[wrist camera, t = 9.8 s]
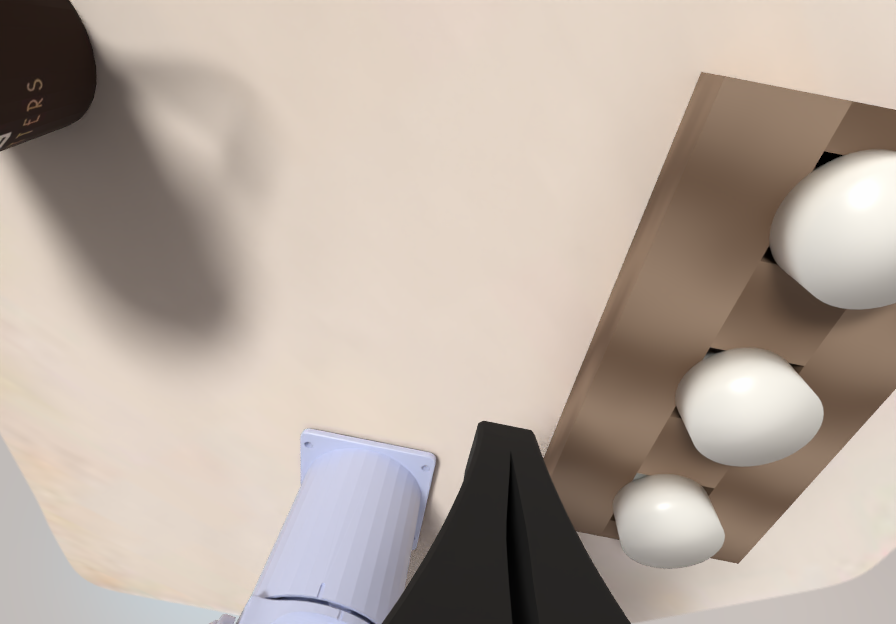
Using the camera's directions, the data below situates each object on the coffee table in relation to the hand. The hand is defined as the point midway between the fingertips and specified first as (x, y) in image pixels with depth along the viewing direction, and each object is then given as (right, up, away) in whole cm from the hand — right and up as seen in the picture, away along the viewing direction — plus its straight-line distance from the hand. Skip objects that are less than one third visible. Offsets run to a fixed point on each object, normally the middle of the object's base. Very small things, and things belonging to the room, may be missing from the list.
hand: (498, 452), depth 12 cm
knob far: (+10, -6, +14) cm, 18 cm away
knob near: (+13, +8, +6) cm, 16 cm away
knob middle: (+11, +1, +10) cm, 15 cm away
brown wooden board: (+11, +1, +10) cm, 15 cm away
